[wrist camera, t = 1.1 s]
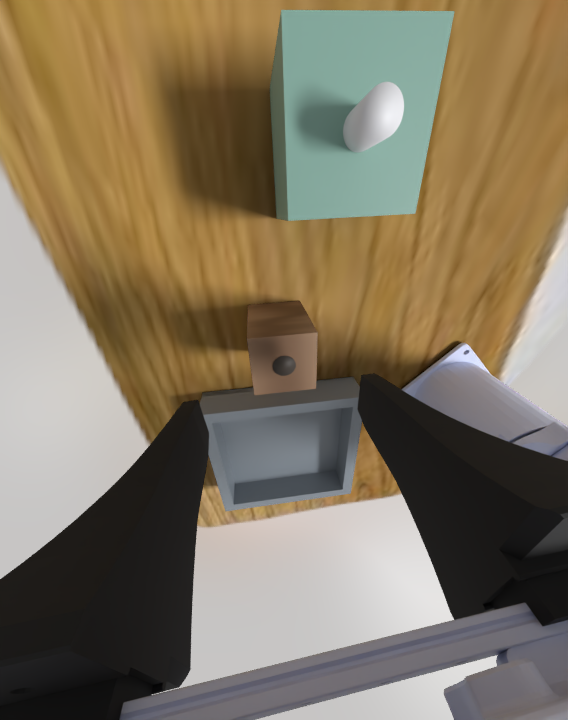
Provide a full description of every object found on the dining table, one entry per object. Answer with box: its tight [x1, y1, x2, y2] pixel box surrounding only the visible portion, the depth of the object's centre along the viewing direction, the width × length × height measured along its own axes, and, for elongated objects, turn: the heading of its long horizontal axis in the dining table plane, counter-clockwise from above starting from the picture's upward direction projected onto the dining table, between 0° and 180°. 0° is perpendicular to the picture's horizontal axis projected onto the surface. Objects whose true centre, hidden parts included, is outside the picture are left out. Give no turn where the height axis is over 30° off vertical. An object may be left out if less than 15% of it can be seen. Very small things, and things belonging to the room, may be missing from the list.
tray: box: [200, 377, 362, 511], centre depth 25 cm, size 14×14×3 cm
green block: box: [270, 10, 454, 221], centre depth 12 cm, size 6×6×8 cm
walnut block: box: [247, 301, 318, 395], centre depth 18 cm, size 4×4×6 cm
